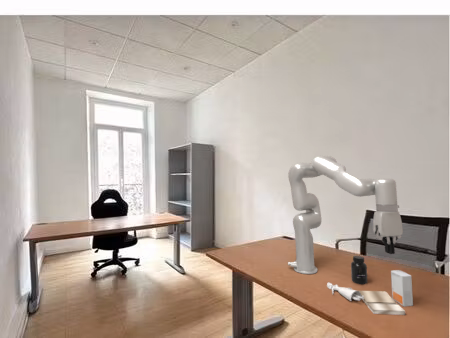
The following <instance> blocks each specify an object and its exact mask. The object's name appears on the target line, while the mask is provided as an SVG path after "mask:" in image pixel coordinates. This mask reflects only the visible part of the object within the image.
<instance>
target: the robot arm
mask: <svg viewBox="0 0 450 338" xmlns="http://www.w3.org/2000/svg"><path fill="white" fill-rule="evenodd" d="M346 170H347V169H346V167H345V165H343V164H341V163H339V162H338V161H337V159H336V158H335V157H333V156H331V155H317V156H314V158H313V159H311V162H297V163H294V164H292V166H291V167H290V168H289V171H288V174H287V178H288V181H289V187H290V191H291V199H292V205H293V208H294V209H295V210H296V211H299V212H300V211H305V212H301V213H297V214H295V216H293V218H292V225H293V230H294V238H295V239H294V241H295V255H296V256H295V258H296V259H295V260H294V261H287V266H290V267H291V268H293V270H294V271H295V272H296V273H298V274H303V275H313V274H316V273H317V272H318V267H316V266H315V252H314V251H315V250H314V237H313V234H312V232H311V230H314V229H317V228H319V227H320V226H321V224H322V213H321V207H320V202H319V198H318V197H317V195H316V194H314V193H311V192H308V191H307V184H306V182H305V181H304V180H303V179H304V178H305V179H308V178H311V179H312V178H317V177H321V176H325V177H327V178H329V179H331V180H332V181H334V183H335V184H336V185H337V186H338V187H339V188H340V189H341V190H344V191H345V192H347V193H349V194H350V195H353V196H355V197H359V198H360V197H369V196H375V210H376V211H374V214H373V221H372V222H373V225H372V230H373V234H374V235H376V236H375V239H377V240H381V241H382V243H383V244H384V251H385V253H387V254H389V255H394V254H396V252H395V250H396V249H395V244H396V243H397V241H398V239H402V237H403V236H402V235H403V232H404V231H403V230H404V228H403V221H402V218H401V214H400V212H399V208H400V205H399V204H398V195H397V192H398V191H397V182H396V180H395V179H393V178H378V179H377V178H376V179H375V178H357V177H356V176H353V175H351V174H349V173H348V172H347V171H346Z"/></svg>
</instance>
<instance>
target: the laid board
mask: <svg viewBox="0 0 450 338" xmlns="http://www.w3.org/2000/svg"><path fill="white" fill-rule="evenodd" d="M367 308H368V309H369V310H370V311H371V312H372V314H374V315H394V316H395V315H396V316H397V315H398V316H406V310H405V309H404V308H402V306H400V304H399V303H396V304H386V303H368V305H367Z"/></svg>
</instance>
